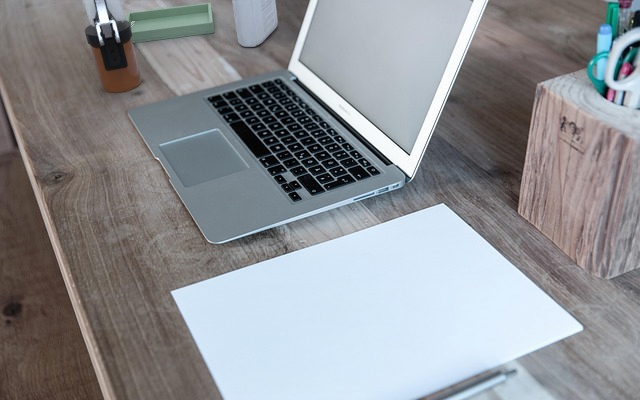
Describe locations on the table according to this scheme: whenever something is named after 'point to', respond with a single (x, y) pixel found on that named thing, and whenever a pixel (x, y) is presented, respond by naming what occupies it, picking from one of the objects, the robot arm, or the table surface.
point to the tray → (171, 22)
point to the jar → (118, 71)
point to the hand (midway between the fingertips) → (114, 56)
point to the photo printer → (254, 20)
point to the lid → (122, 27)
